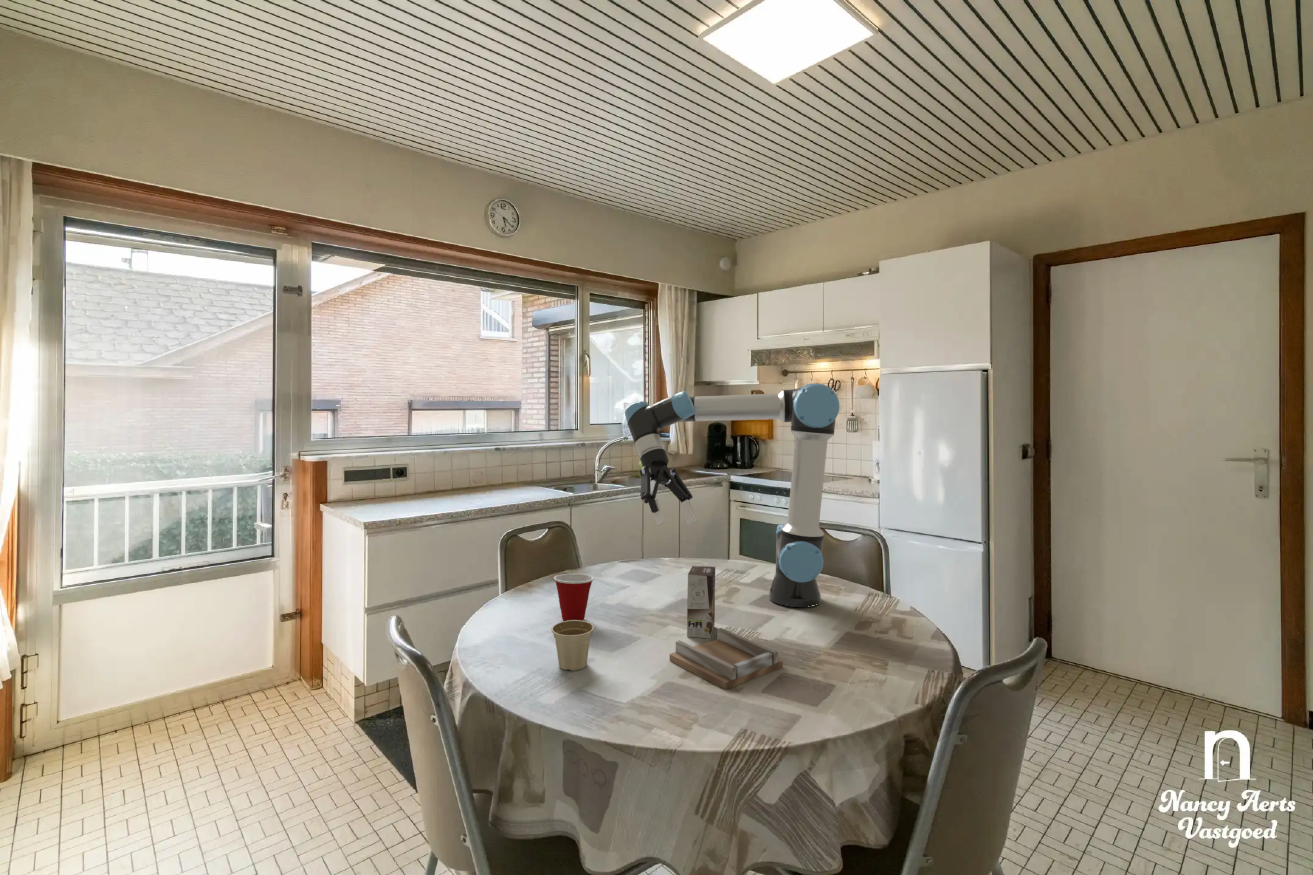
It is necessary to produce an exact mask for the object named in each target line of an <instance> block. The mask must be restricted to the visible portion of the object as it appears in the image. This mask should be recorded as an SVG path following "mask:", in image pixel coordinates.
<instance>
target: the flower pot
mask: <svg viewBox="0 0 1313 875" xmlns="http://www.w3.org/2000/svg"><path fill="white" fill-rule="evenodd" d="M594 629H595V625H594V624H593V623H591V622H588V621H587V620H583V621H581V620H569V621H563V620H562V621H559V622H557V623H555V624H554V625H552V627H551V633H552V635H553V638H554V640H555V646H556V654H557V660H558V667H559V668H560V669H562V670H565V671H568V670H570V671H579V670H582V669H584V668H586V665H588V658H589V651H590V650H589V649H590V641H591V637H592V635H593V631H594Z"/></svg>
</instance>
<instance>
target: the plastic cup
mask: <svg viewBox="0 0 1313 875" xmlns="http://www.w3.org/2000/svg"><path fill="white" fill-rule="evenodd" d="M594 579H595V577H594V576H592V575H589V574H585V573H564V574H558V575H554V576H553V580H554V582H555V585H556V590H557V596H558V602H559V603H558V604H559V609H560V612H561V619H562V622H563V621H569V620H581V621H585V616H586V610H587V608H588V607H587V606H588V602H589V596H590V589H591V588H592V583H593V581H594Z"/></svg>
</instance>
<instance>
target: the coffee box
mask: <svg viewBox="0 0 1313 875" xmlns="http://www.w3.org/2000/svg"><path fill="white" fill-rule="evenodd" d="M686 602H687V605H686V606H687V607H686V608H687V609H686V611H687V612H686V614H687V615H686V617H687V618H686V637H689V638H701V639H711V638H712V635H713V632H714V629H715V625H716V624H715V622H716V621H715V620H716V619H715V615H716V613H715V612H716V606H715V605H716V566H709V565H708V566H705V565H703V566H702V565H701V566H699V565H698V566H697V565H692V566H691V568H690V570H689V571H688V574H687V601H686Z"/></svg>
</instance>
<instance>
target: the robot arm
mask: <svg viewBox="0 0 1313 875" xmlns="http://www.w3.org/2000/svg"><path fill="white" fill-rule="evenodd" d="M839 412H840V400H839V397H838V395H837V394H836V393H835V391H834V390H833V389H832V388H831V387H829V386H828V385H825V384H824V383H823V384H822V383H818V382H817V383H809V384H806V385H803V386H802V387H801V386H800V387H798V388H794V389H782V390H781V391H780V392H779V393H758V394H755V393H754V394H753V393H752V394H732V395H728V394H727V395H705V396H699V395H698V396H690V395H689V393H688V392H687V391H685V390H682V391H680V392H677V393H674V394H673V395H670V396H667V397H666V398H664V399H661V400H660V401H658V402H656V403H653V404H650V405H649V404H648V403H647V401H638V402H633V403H631V404H629V405H628V406H627V407H626V408H625V410H624V415H625V416H624V417H625V419H626V423H627V427H628V429H629V431H630V434H631V437H632V440H633V443H634V445H635V448H636V451H637V454H638V457H639V458H640V460H639V461H640V464H641V466H642V468H640V469H639V474H640V499H641V501H643V503H644V504H648V505H649V508H650V512H651V513H652V515H653V518H654V521H655V524H656V526H657V527H659V526H662V525H663V524H664V523H667V520H666V517H665V514H664V511H663V508H662V505H661V502H660V500H659V498H656V496H657V493H658V490H659V489H658V488H659V485H661V486H664V487H665V488H668V489H669V491H670V492H671V493H672V494H673V495H674V496H675V497H676V499H678V500H679V501H680V503H679V505H680V508H681V511H682V514H683V517H684V519H685V522H686V524H687V526H690V525H692V524H694V523H696V522H697V519H696V517H695V513H694V511H693V507H692V506H691V502H690V500H691V499H692V498H693V497H694V496H693V494H692V492H690V490H689V489H688V487H687V486H686V484H685V483H684V481H683V480H682V478H681V476H679V473H678V472H677V469H676V468H675V467H674V468H672V469H669V467H668V464H669V457H668V454H667V451H666V450H665V446H664V443H663V441H662V440H663V439H662V438H661V436H660V433H659V431H661V430H663V429H665V428H667V427H670V426H671V425H674V424H677V423H684V422H711V421H712V422H715V421H721V422H722V421H749V420H751V421H752V420H753V421H756V420H757V421H758V420H760V421H761V420H779V421H781V422H782V423H791V424H790V433H792V435H793V436H794V438H795V440H794V441H795V442H794V451H793V458H792V459H793V462H792V471H791V481H790V489H789V490H790V491H789V499H788V500H789V502H788V512H787V522H786V523H781V524H778V525H777V527H776V532H775V537H776V544H775V545H776V546H775V549H776V550H775V574H774V577H773V580H772V583H771V586H770V589H769V592H768V593H769V595H768V596H769V597H768V598H770V599H769V600H770V601H771V600H772V601H773V602H772V601H771V602H772V603H774V602H775V603H774V604H776V603H777V604H776V605H778V604H781V605H780V606H782V605H787V606H791V607H790V608H793V607H808V606H812V605H816V604H819V603H820V604H821V602H820V601H821V600H822V598H821V597H822V594H821V593H820V592H821V591H820V589H819V585H818V581H817V577H818V576H819V575H820V574H821V572H822V570H823V567H824V555H823V546H824V535H825V533H824V532H823V531H822V529H821V528H820V518H821V511H822V510H821V508H822V499H823V498H822V497H823V488H824V481H825V480H824V479H825V470H826V468H825V467H826V460H827V449H828V441H829V440H830V439H831V438H832V437H833V436H835V428H836V420H837V416H838V415H839ZM820 604H819V605H820Z"/></svg>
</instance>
